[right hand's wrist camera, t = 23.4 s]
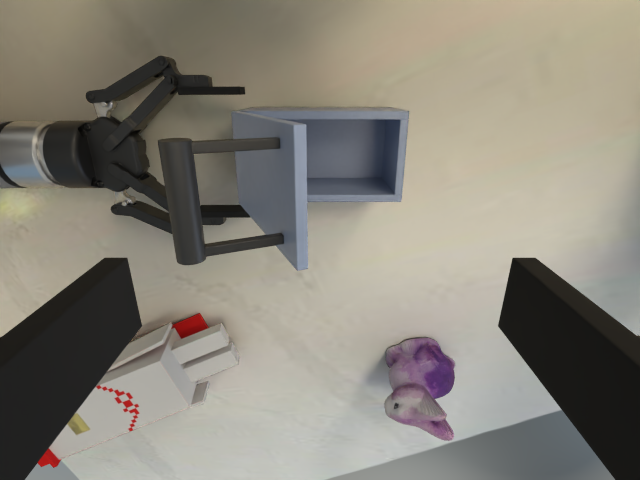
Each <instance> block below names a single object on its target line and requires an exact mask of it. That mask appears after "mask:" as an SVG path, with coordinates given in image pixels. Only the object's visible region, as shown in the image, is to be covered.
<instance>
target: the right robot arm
mask: <svg viewBox="0 0 640 480" xmlns="http://www.w3.org/2000/svg"><path fill="white" fill-rule="evenodd" d="M141 326H142V324H141V320H140V315H139V310H138V306H137V301H136V296H135V292H134V287H133V282H132V278H131V273H130V268H129V264H128V259H127V258H104V259H103V260H101V261H100V262H99V263H97V264H96V265H95V266H94V267H92V268H91V269H90V270H88V271H87V272H86V273H84V274H83V275H82V276H81V277H79V278H78V279H77V280H75V281H74V282H73V283H71V284H70V285H69V286H68V287H66V288H65V289H64V290H62V291H61V292H60V293H58V294H57V295H56V296H55V297H53V298H52V299H51V300H49V301H48V302H47V303H45V304H44V305H43V306H41V307H40V308H39V309H38V310H36V311H35V312H34V313H32V314H31V315H30V316H28V317H27V318H26V319H25V320H23V321H22V322H21V323H19V324H18V325H17V326H15V327H14V328H13V329H12V330H10V331H9V332H8V333H6V334H5V335H4V336H2V337H0V480H25V478H26V477H27V476H28V475H29V473H30V472H31V471H32V469H33V468H34V467H35V465H36V464H37V463H38V461H39V460H40V459H41V458H42V456H43V455H44V454H45V452H46V451H47V450H48V448H49V447H50V446H51V444H52V443H53V442H54V441H55V439H56V438H57V437H58V435H59V434H60V433H61V431H62V430H63V429H64V427H65V426H66V425H67V423H68V422H69V421H70V420H71V418H72V417H73V416H74V414H75V413H76V412H77V410H78V409H79V408H80V406H81V405H82V404H83V402H84V401H85V400H86V399H87V397H88V396H89V395H90V393H91V392H92V391H93V389H94V388H95V387H96V385H97V384H98V383H99V382H100V380H101V379H102V378H103V376H104V375H105V374H106V372H107V371H108V370H109V368H110V367H111V366H112V364H113V363H114V362H115V361H116V359H117V358H118V357H119V355H120V354H121V353H122V351H123V350H124V349H125V347H126V346H127V345H128V343H129V342H130V341H131V340H132V338H133V337H134V336H135V334H136V333H137V332H138V330H139V329H140V328H141ZM498 326H499V328H500V329H501V330H502V332H503V333H504V334H505V336H506V337H507V338H508V340H509V341H510V342H511V343H512V345H513V346H514V347H515V349H516V350H517V351H518V353H519V354H520V355H521V357H522V358H523V359H524V361H525V362H526V363H527V364H528V366H529V367H530V368H531V370H532V371H533V372H534V374H535V375H536V376H537V378H538V379H539V380H540V382H541V383H542V384H543V385H544V387H545V388H546V389H547V391H548V392H549V393H550V395H551V396H552V397H553V399H554V400H555V401H556V402H557V404H558V405H559V406H560V408H561V409H562V410H563V412H564V413H565V414H566V416H567V417H568V418H569V420H570V421H571V422H572V423H573V425H574V426H575V427H576V429H577V430H578V431H579V433H580V434H581V435H582V437H583V438H584V439H585V441H586V442H587V443H588V444H589V446H590V447H591V448H592V450H593V451H594V452H595V454H596V455H597V456H598V458H599V459H600V460H601V461H602V463H603V464H604V465H605V467H606V468H607V469H608V471H609V472H610V473H611V475H612V476H613V477H614V478H615V480H640V336H636V335H635V334H634V333H632V332H631V331H630V330H628V329H627V328H626V327H625V326H623V325H622V324H621V323H619V322H618V321H617V320H615V319H614V318H613V317H612V316H610V315H609V314H608V313H606V312H605V311H604V310H602V309H601V308H600V307H598V306H597V305H596V304H595V303H593V302H592V301H591V300H589V299H588V298H587V297H585V296H584V295H583V294H582V293H580V292H579V291H578V290H576V289H575V288H574V287H572V286H571V285H570V284H569V283H567V282H566V281H565V280H563V279H562V278H561V277H559V276H558V275H557V274H556V273H554V272H553V271H552V270H550V269H549V268H548V267H546V266H545V265H544V264H543V263H541V262H540V261H539V260H537V259H536V258H513V259H512V264H511V268H510V273H509V278H508V282H507V287H506V292H505V296H504V301H503V306H502V310H501V315H500V320H499V324H498Z"/></svg>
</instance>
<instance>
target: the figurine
mask: <svg viewBox="0 0 640 480" xmlns="http://www.w3.org/2000/svg"><path fill="white" fill-rule="evenodd" d="M386 354H387V355H386V362H387V364H388V367H390V368H391V369H390V371H389V381H390V384H391V387H392V389H393V393H392V394H391V395H390V396H388V397H387V399H386V400H385V403H384V407H385V412H386V414H387V416H388V417H390V418H392V419H394V420H395V421H397V422H400V423H402V424H405V425H411V426H416V427H419V428H421V429H423V430H425V431H427V432H428V433H430V434H431V435H434V436H436V437H437V438H440V439H442V440H448V441H450V440H452V439H453V438H454V433H453V430H452V429H451V427H450V426H449V424H448V423H447V421H446V420H445V419H446V416H447V414H446V413H445V412H444V411H443V409H442V408H441V407H440V405H439V404H438V403H437V402H436V400H435V399H436V398H440V397H442V396H445V395H446V394H448V393H449V392H450V391H451V389H452V387H453V384H454V378H455V377H454V370H453V369H454V368H455V362H454V360H453V359H451V358H449V357H447V356H446V355H444V354H443V353H442V351H441V349H440V346H439V344H438V343H437V342H436V341H435V340H433V339H431V338H416V339H410V340H405V341H404V342H402V343H400V344H399V345H396V346H393V347H390V348H388V349H387V351H386Z"/></svg>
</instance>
